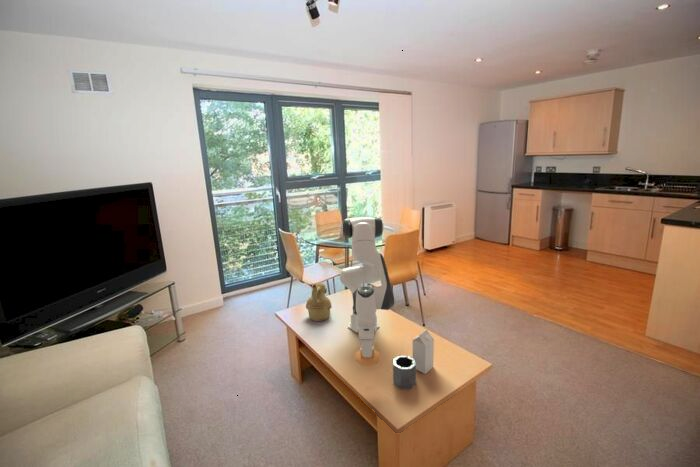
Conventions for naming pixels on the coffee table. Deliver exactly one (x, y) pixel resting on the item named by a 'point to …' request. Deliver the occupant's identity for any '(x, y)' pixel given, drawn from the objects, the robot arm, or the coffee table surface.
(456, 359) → the coffee table surface
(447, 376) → the coffee table surface
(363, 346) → the robot arm
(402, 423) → the coffee table surface
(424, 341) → the milk carton
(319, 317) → the ceramic vessel
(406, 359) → the graphite tube
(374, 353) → the orange cap
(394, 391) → the coffee table surface
